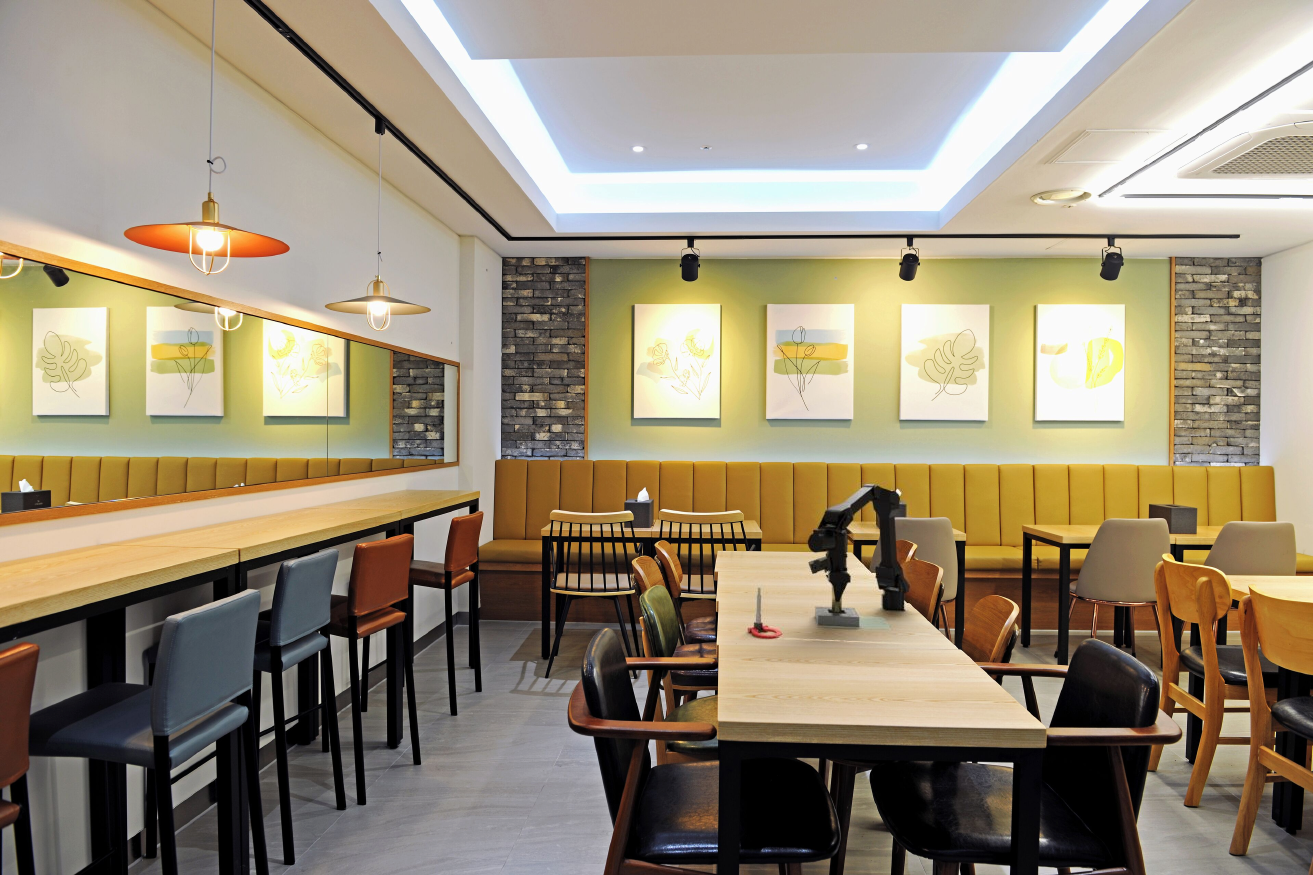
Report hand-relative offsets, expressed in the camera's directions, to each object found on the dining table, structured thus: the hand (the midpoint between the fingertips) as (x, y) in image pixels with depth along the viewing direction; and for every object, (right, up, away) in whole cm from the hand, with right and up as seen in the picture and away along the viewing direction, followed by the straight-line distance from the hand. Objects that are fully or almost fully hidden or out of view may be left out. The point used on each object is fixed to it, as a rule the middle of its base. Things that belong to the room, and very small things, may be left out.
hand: (836, 600), depth 224 cm
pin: (0, -3, 0) cm, 3 cm away
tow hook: (-24, -7, -14) cm, 28 cm away
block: (0, -6, 0) cm, 6 cm away
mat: (+4, -7, -1) cm, 8 cm away
